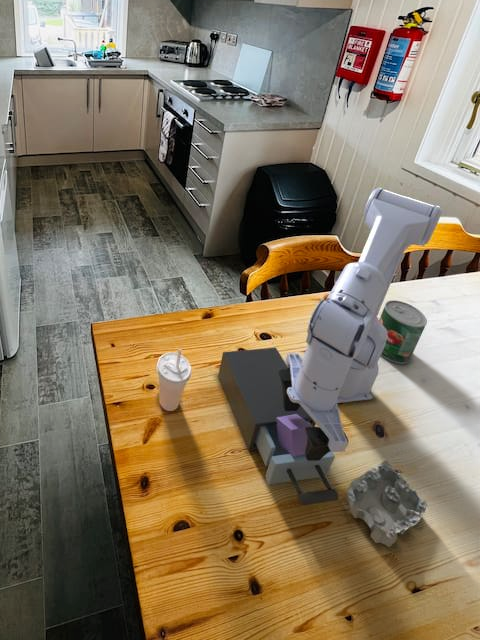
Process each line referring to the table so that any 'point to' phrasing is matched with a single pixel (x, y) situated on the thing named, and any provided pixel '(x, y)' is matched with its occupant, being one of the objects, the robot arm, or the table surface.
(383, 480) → the egg carton
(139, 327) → the table surface
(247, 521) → the table surface
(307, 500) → the grey drawer
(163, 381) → the smoothie
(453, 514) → the table surface
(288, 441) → the purple cube
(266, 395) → the dark grey drawer box
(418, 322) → the canned tomato
